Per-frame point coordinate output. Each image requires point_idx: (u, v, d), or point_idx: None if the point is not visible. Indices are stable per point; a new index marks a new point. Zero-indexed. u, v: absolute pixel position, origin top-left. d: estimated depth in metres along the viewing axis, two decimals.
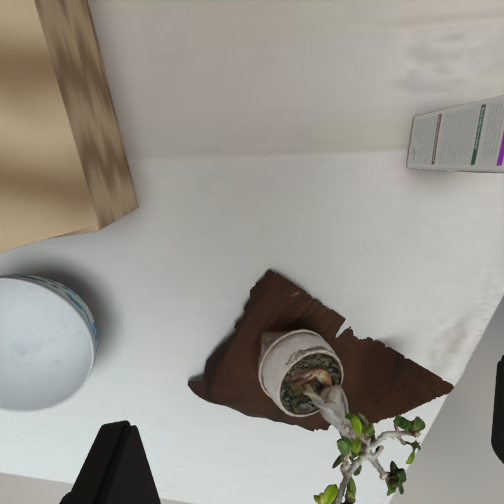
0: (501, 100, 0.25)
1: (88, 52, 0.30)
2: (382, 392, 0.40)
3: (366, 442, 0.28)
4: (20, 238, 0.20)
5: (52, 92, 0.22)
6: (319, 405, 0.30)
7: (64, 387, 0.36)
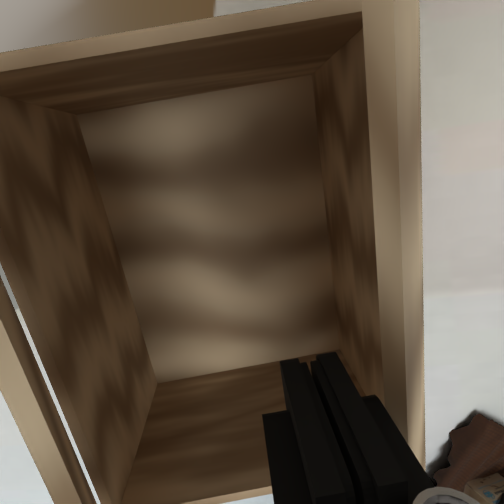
0: None
1: None
2: None
3: None
4: None
5: None
6: None
7: None
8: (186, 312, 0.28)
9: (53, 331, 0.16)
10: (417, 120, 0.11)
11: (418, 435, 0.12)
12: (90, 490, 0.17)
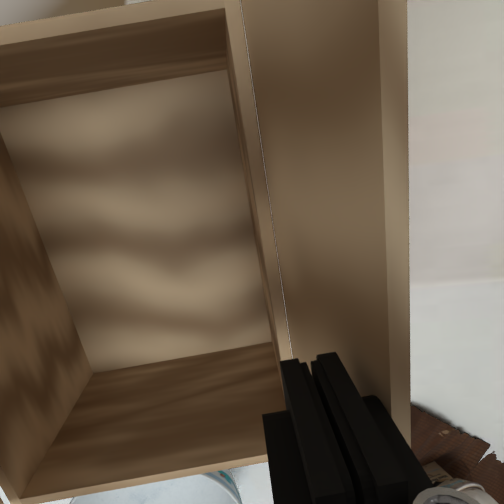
0: None
1: None
2: None
3: None
4: None
5: None
6: None
7: None
8: (116, 304, 0.29)
9: None
10: None
11: None
12: None
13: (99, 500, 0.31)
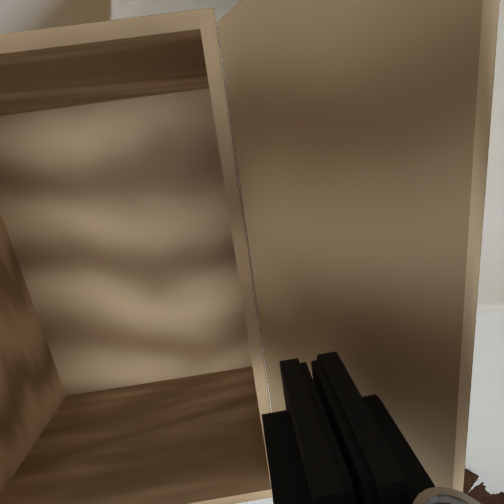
0: None
1: None
2: None
3: None
4: None
5: None
6: None
7: None
8: (93, 324, 0.27)
9: None
10: None
11: None
12: None
13: None
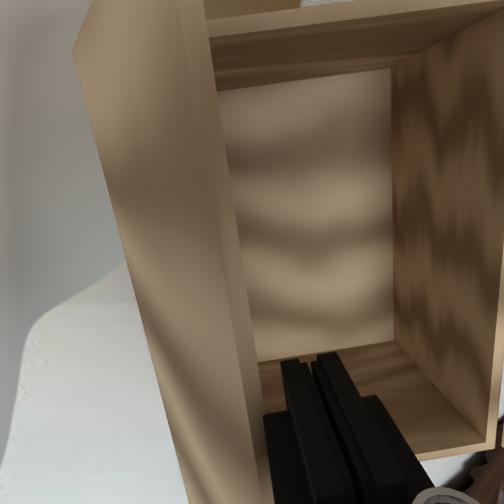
0: None
1: None
2: None
3: None
4: None
5: None
6: None
7: None
8: (249, 298, 0.29)
9: None
10: None
11: None
12: None
13: None
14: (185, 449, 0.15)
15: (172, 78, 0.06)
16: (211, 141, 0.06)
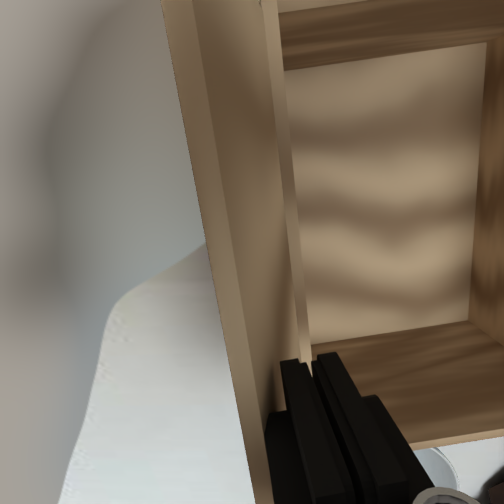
0: None
1: None
2: None
3: None
4: None
5: None
6: None
7: None
8: (328, 277, 0.29)
9: None
10: None
11: None
12: None
13: None
14: None
15: None
16: (195, 118, 0.06)
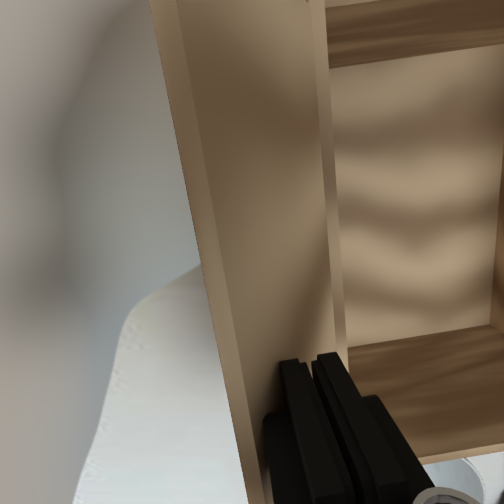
0: None
1: None
2: None
3: None
4: None
5: None
6: None
7: None
8: (349, 281, 0.28)
9: None
10: None
11: None
12: None
13: None
14: None
15: None
16: (185, 129, 0.06)
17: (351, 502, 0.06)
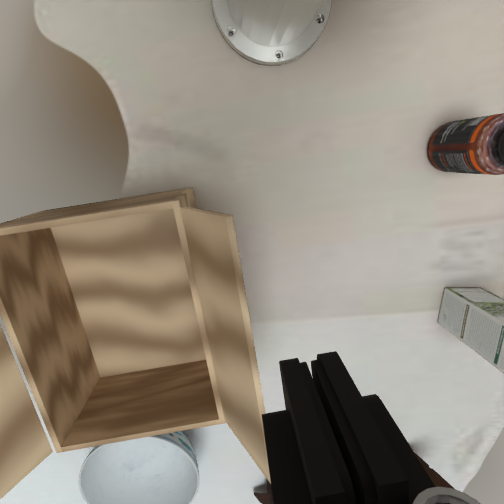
0: None
1: None
2: None
3: None
4: None
5: None
6: None
7: (168, 501, 0.46)
8: (117, 332, 0.44)
9: (26, 347, 0.32)
10: None
11: None
12: (36, 431, 0.33)
13: (102, 465, 0.46)
14: None
15: None
16: None
17: (351, 502, 0.06)
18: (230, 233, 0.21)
